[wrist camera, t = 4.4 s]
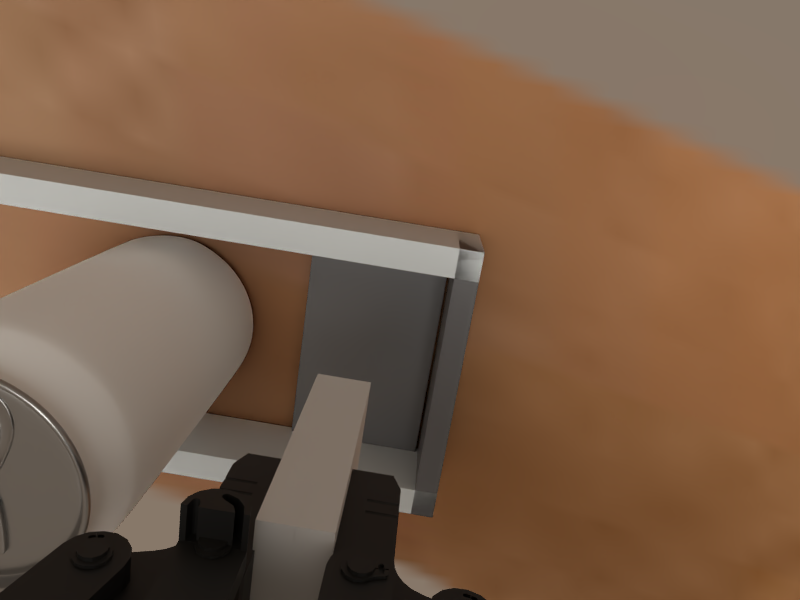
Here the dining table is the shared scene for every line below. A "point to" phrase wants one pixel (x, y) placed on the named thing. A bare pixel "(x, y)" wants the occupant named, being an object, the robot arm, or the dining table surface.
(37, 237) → the dining table surface
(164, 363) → the can
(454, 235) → the grey flat u-shaped frame
